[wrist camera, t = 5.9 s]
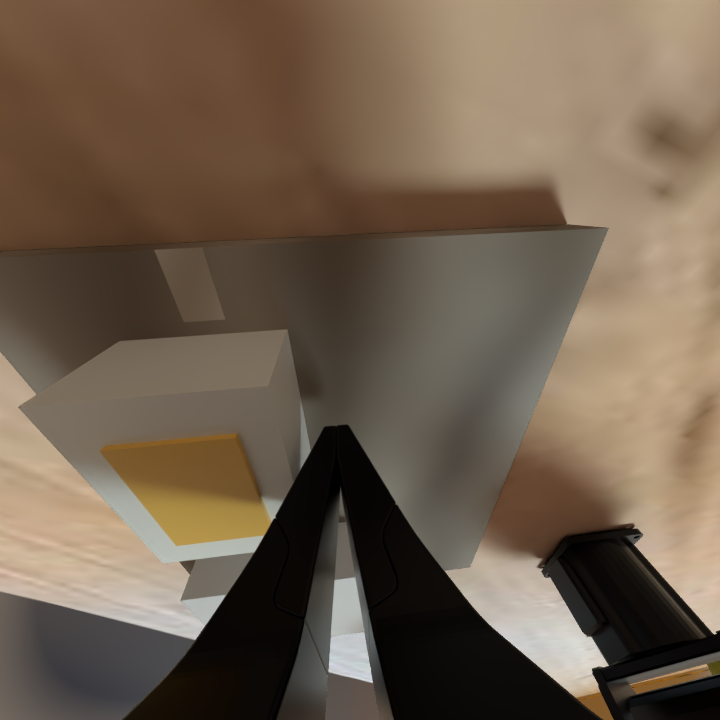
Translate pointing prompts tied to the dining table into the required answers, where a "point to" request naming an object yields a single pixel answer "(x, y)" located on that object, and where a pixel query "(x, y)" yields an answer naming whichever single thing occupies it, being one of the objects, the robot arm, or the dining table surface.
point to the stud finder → (184, 436)
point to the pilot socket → (221, 572)
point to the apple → (714, 667)
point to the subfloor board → (343, 339)
